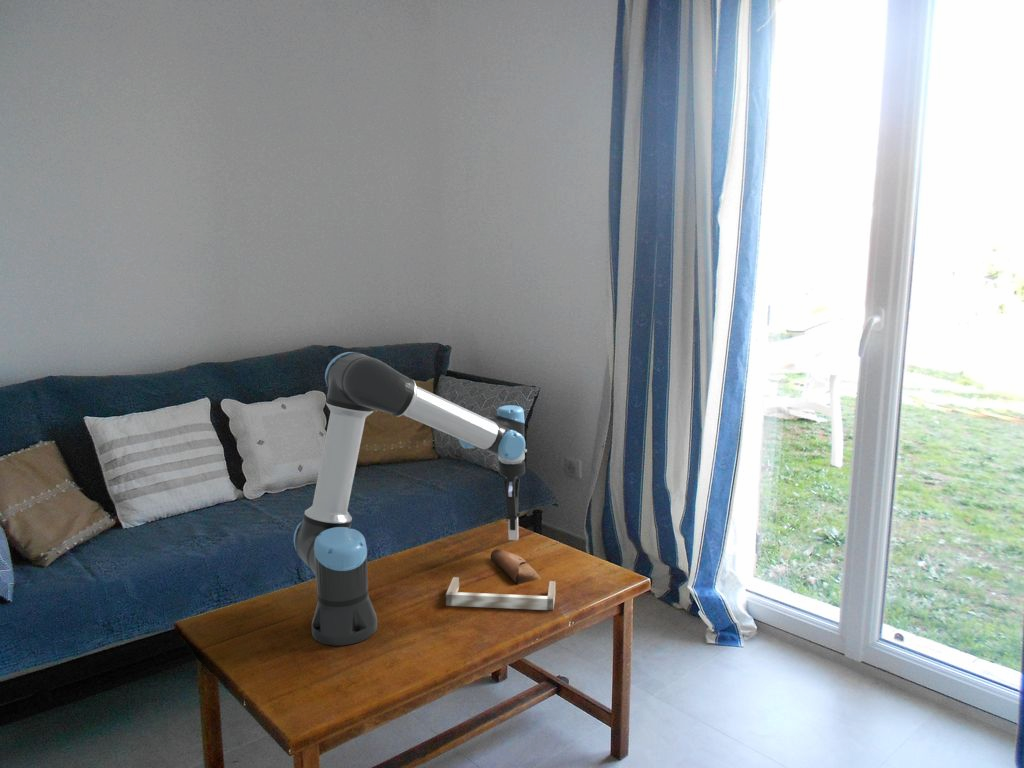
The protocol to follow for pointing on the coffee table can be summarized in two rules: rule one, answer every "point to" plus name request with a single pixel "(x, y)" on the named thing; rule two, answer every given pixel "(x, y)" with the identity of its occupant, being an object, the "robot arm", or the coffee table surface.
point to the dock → (499, 599)
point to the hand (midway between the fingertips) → (513, 538)
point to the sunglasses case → (514, 566)
